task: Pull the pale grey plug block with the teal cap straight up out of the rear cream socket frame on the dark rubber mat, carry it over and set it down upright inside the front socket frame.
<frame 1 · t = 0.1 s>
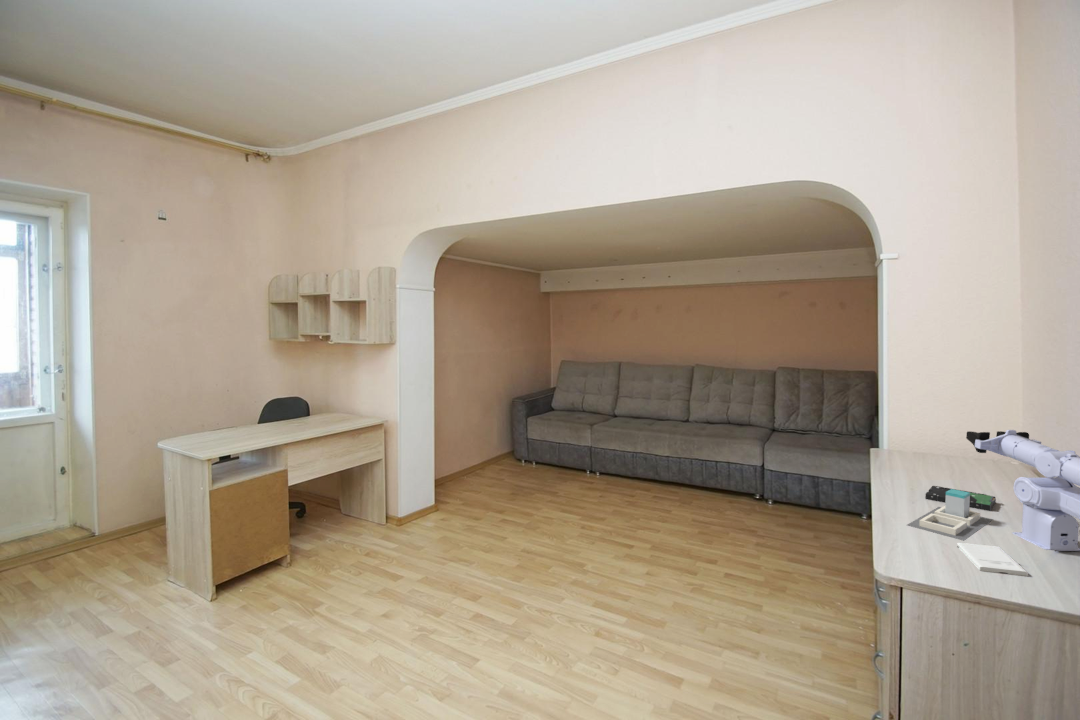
hand: (982, 435, 140), 22 cm above the table, tool horizontal, fingers open, 7 cm apart
disk drive: (959, 504, 149), on the table
external hard drive: (990, 563, 114), on the table
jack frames: (950, 519, 134), on the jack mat, point 1 cm above the table
plug: (957, 517, 137), resting on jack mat
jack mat: (950, 524, 134), on the table
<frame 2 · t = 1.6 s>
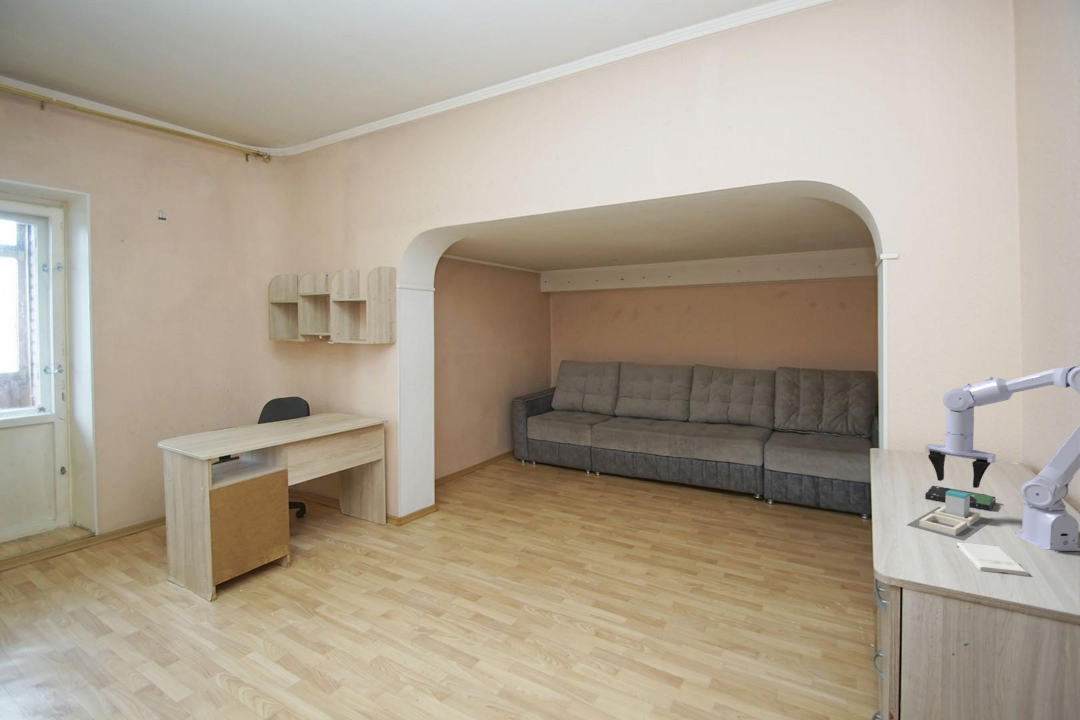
hand: (958, 483, 136), 10 cm above the table, tool pointing down, fingers open, 7 cm apart
nothing on the table moved.
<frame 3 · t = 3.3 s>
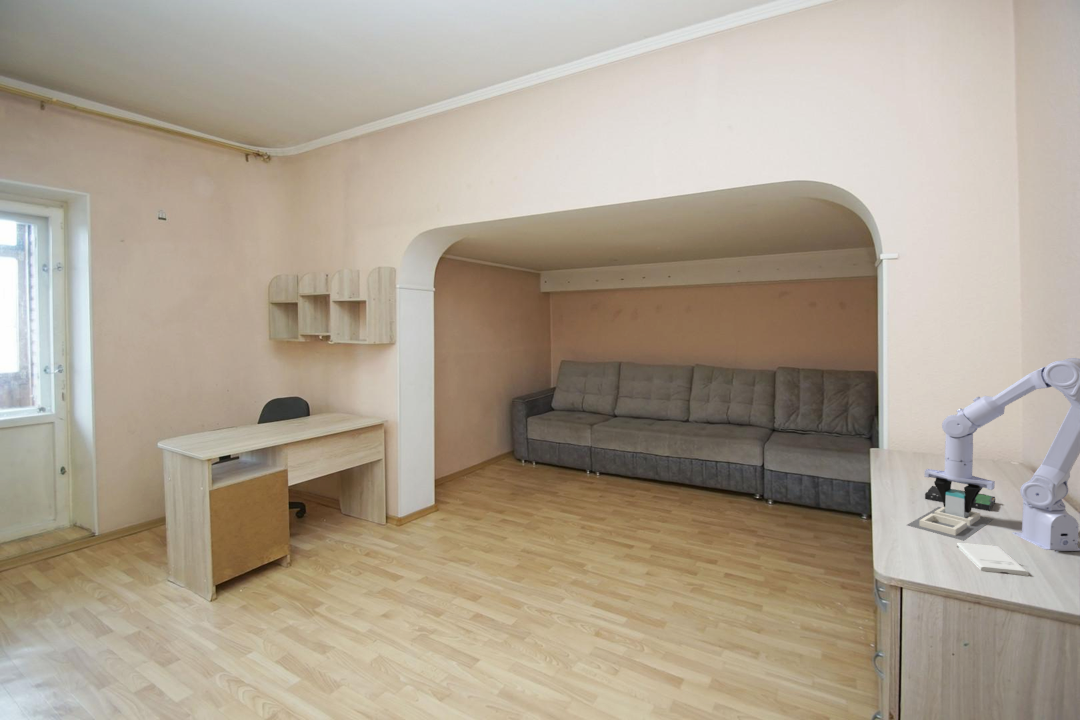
hand: (957, 509, 137), 3 cm above the table, tool pointing down, fingers closed on plug, 4 cm apart
plug: (957, 517, 137), resting on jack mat, touching gripper
everything else where it was.
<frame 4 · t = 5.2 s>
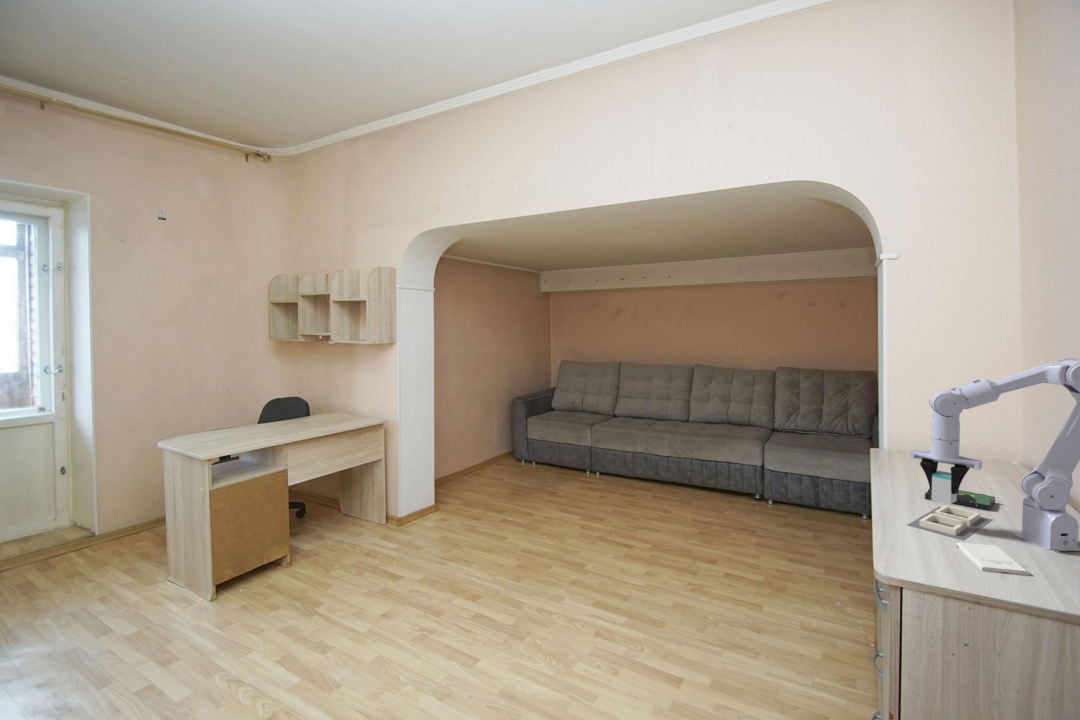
hand: (943, 490, 131), 10 cm above the table, tool pointing down, fingers closed on plug, 4 cm apart
plug: (943, 500, 131), point 7 cm above the table, touching gripper
everything else where it was.
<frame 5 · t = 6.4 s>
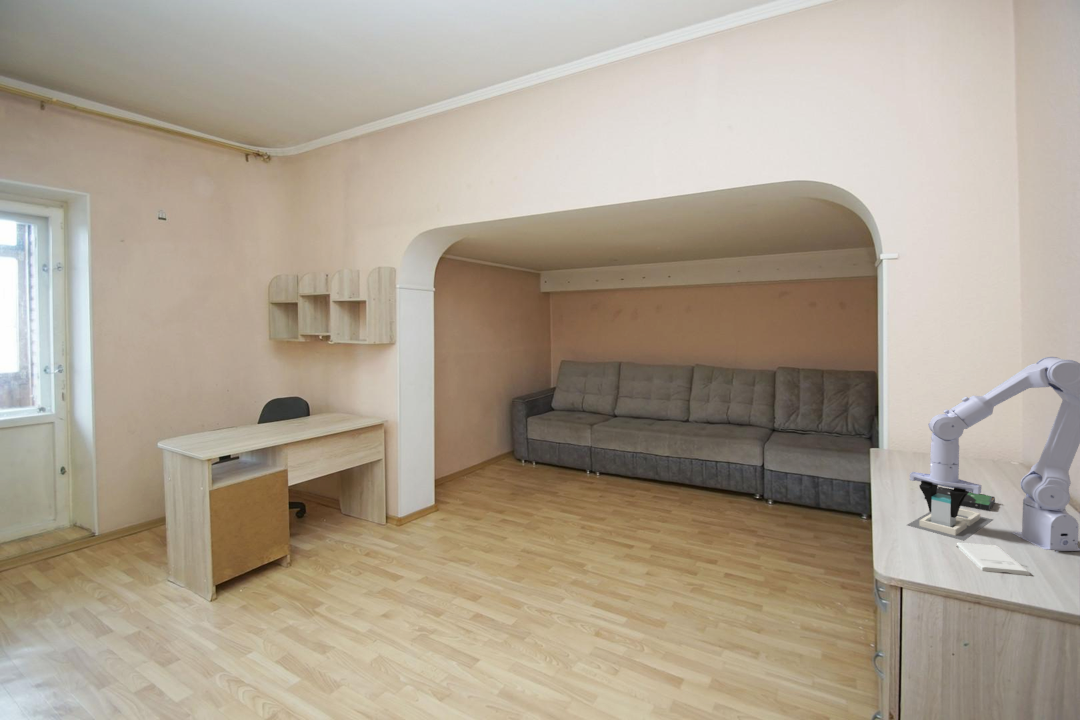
hand: (943, 513, 131), 4 cm above the table, tool pointing down, fingers closed on plug, 4 cm apart
plug: (943, 523, 132), point 1 cm above the table, touching gripper
everything else where it was.
when the fingers open (4 cm above the table, at t = 7.1 s): plug stays where it is, resting on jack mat.
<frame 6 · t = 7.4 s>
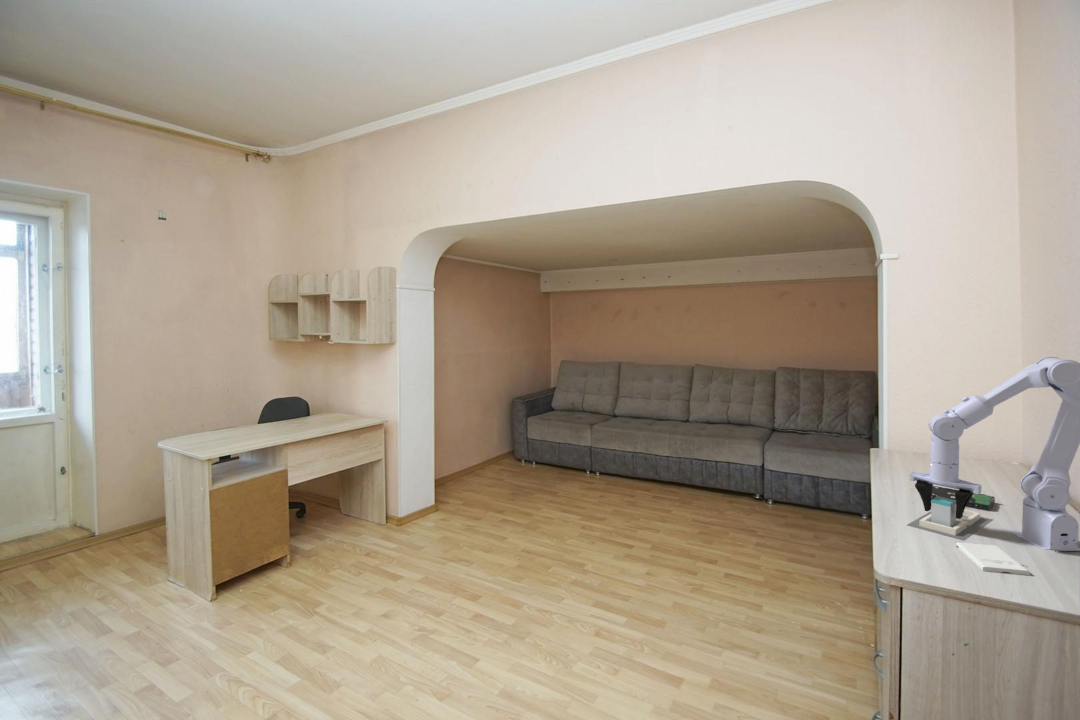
hand: (943, 513, 131), 4 cm above the table, tool pointing down, fingers open, 6 cm apart
plug: (943, 526, 132), resting on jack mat
everything else where it was.
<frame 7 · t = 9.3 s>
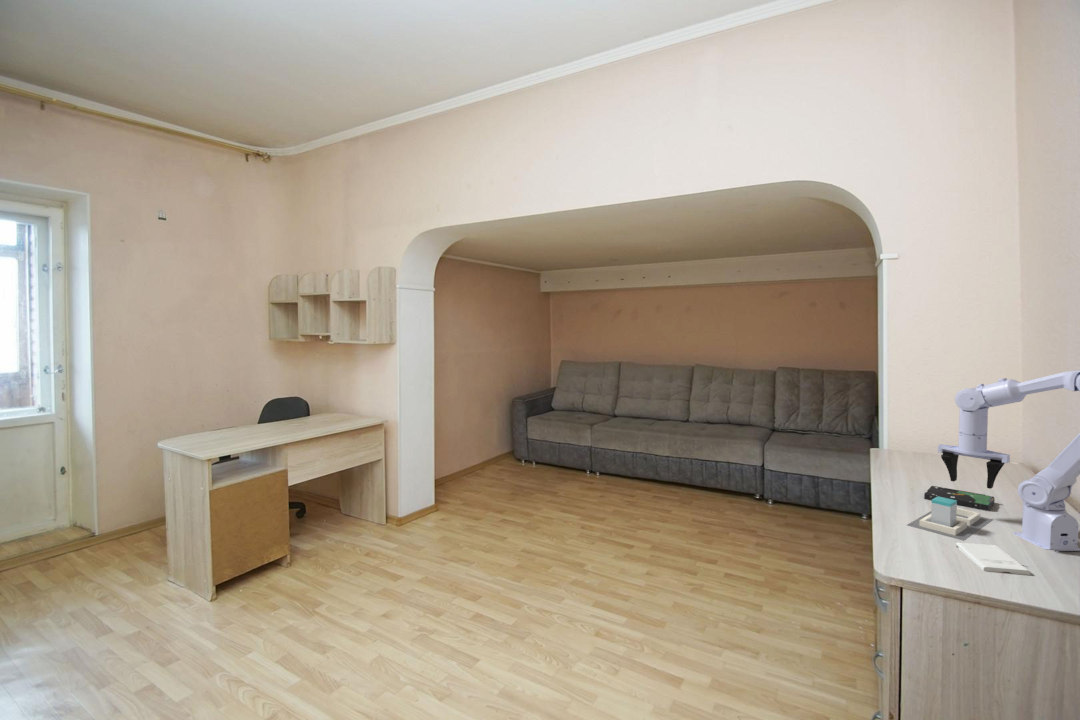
hand: (971, 484, 135), 10 cm above the table, tool pointing down, fingers open, 7 cm apart
nothing on the table moved.
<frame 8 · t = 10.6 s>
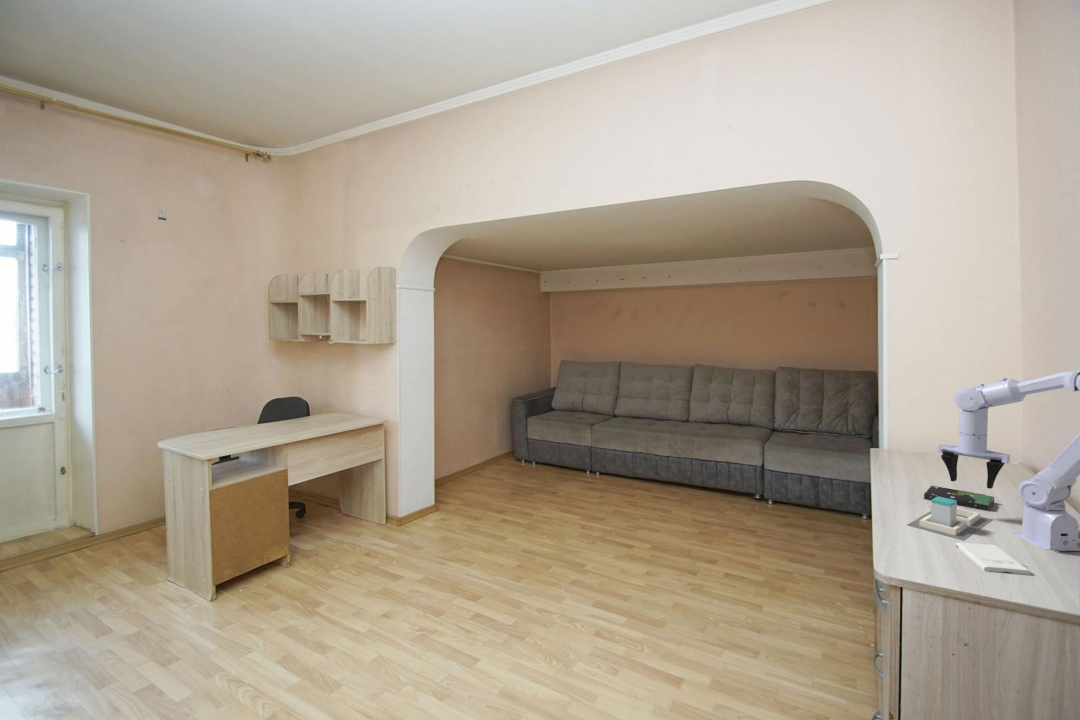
hand: (971, 484, 135), 10 cm above the table, tool pointing down, fingers open, 7 cm apart
nothing on the table moved.
at the end: plug 0.4 cm from the target spot, point 0.5 cm above the table; plug tilted 0°; the gripper is holding nothing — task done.
